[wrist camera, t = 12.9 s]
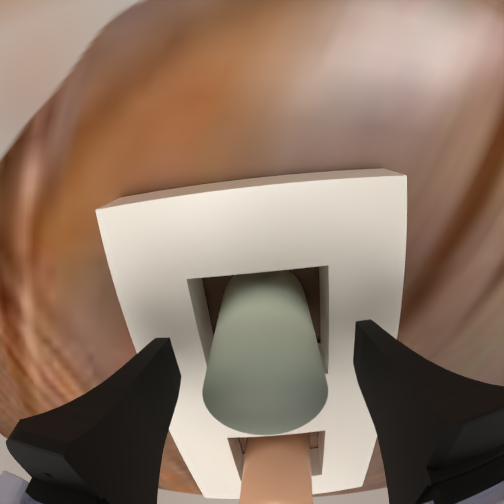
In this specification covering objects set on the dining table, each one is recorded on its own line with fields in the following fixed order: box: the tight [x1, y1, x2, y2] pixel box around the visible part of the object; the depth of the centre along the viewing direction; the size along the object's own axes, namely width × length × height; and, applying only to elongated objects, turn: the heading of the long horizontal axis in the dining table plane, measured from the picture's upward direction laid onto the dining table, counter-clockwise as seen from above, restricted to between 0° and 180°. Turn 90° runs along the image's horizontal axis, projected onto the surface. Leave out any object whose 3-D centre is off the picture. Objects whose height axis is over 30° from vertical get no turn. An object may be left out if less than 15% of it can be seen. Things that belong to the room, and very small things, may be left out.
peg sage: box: [202, 270, 328, 435], centre depth 12 cm, size 4×4×6 cm
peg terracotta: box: [239, 432, 313, 504], centre depth 16 cm, size 4×4×6 cm
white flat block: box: [96, 168, 407, 499], centre depth 16 cm, size 22×12×2 cm, turn 7°
